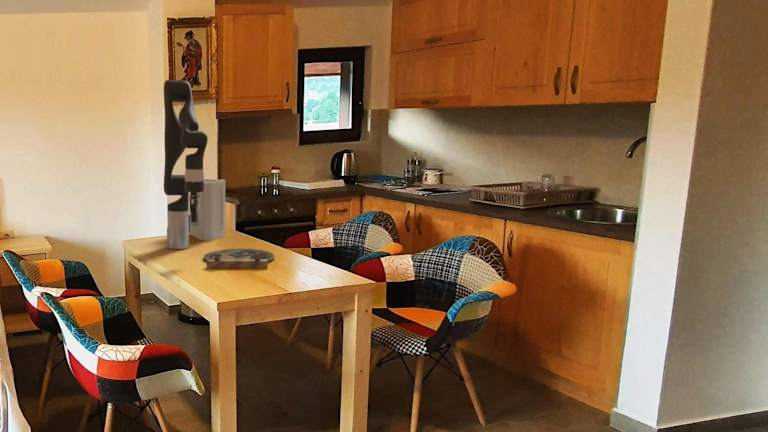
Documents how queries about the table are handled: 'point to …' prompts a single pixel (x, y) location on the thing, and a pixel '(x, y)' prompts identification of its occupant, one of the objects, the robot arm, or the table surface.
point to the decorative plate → (239, 254)
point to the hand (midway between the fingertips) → (194, 220)
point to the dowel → (197, 218)
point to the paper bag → (211, 211)
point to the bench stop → (237, 262)
